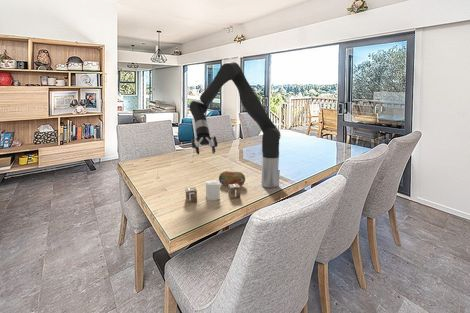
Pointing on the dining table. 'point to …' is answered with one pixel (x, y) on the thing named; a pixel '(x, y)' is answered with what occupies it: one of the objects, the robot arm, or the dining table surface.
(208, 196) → the plain block
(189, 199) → the walnut block
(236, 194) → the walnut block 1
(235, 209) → the dining table surface
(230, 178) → the tin
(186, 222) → the dining table surface
